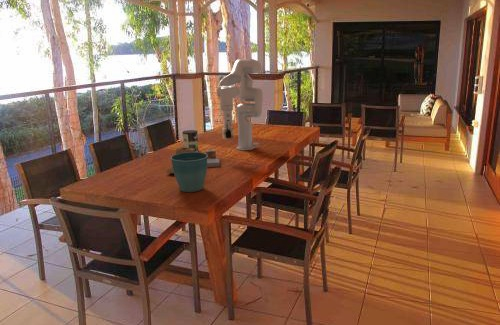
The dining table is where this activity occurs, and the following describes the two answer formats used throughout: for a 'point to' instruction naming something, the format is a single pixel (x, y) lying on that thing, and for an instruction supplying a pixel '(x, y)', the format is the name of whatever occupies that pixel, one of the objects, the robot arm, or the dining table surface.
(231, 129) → the oak cube
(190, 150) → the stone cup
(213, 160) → the slate trivet
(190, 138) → the coffee can
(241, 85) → the robot arm
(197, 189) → the flower pot
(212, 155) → the walnut cube
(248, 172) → the dining table surface
